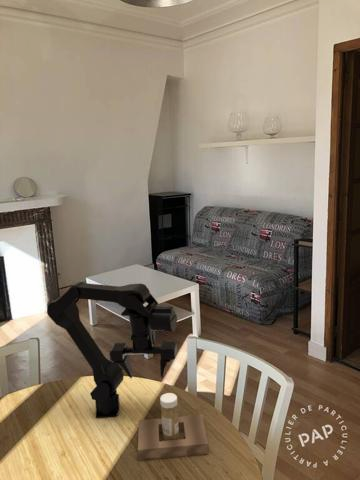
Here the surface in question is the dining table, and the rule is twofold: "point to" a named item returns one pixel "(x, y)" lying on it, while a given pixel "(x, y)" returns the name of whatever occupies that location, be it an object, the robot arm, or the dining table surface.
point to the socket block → (174, 448)
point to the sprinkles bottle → (169, 417)
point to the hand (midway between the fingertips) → (146, 377)
